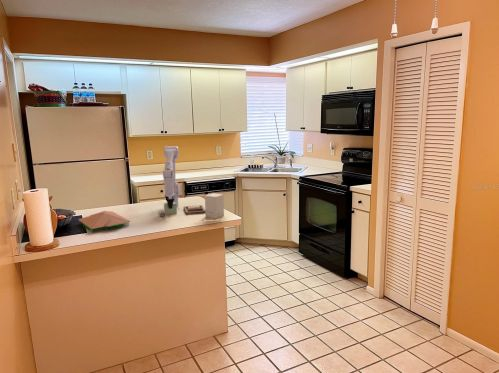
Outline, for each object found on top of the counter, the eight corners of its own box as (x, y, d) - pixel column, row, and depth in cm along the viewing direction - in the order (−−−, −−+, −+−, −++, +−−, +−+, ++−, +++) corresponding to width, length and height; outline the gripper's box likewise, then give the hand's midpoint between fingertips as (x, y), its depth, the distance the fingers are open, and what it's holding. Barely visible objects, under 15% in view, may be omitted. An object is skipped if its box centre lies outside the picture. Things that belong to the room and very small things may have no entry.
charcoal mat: (159, 213, 253) (159, 212, 253) (180, 211, 256) (180, 210, 256) (160, 217, 243) (160, 216, 243) (181, 215, 247) (181, 214, 247)
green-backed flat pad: (93, 235, 209) (92, 221, 207) (76, 222, 233) (75, 210, 232) (132, 227, 223) (131, 214, 221) (112, 216, 248) (111, 204, 246)
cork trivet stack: (186, 209, 260) (186, 206, 259) (199, 208, 262) (199, 205, 262) (187, 210, 255) (187, 208, 254) (200, 209, 257) (200, 207, 257)
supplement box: (224, 216, 243) (224, 194, 240) (216, 219, 236) (215, 197, 233) (213, 214, 248) (213, 192, 245) (205, 217, 241) (204, 195, 238)
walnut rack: (183, 209, 261) (183, 206, 261) (202, 208, 265) (201, 205, 264) (186, 215, 246) (186, 212, 245) (205, 214, 249) (205, 211, 249)
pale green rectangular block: (164, 213, 251) (163, 203, 249) (176, 212, 253) (175, 202, 251) (164, 214, 247) (164, 204, 245) (176, 213, 249) (176, 203, 248)
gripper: (176, 189, 240) (177, 209, 243) (174, 185, 254) (175, 204, 257) (164, 189, 239) (166, 210, 241) (163, 185, 252) (164, 205, 255)
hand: (170, 207), depth 249 cm, fingers open, 7 cm apart
